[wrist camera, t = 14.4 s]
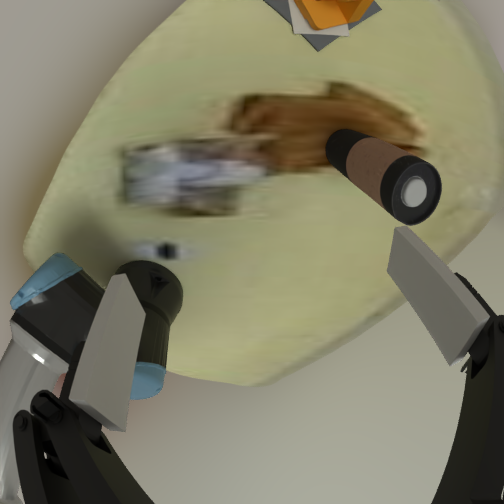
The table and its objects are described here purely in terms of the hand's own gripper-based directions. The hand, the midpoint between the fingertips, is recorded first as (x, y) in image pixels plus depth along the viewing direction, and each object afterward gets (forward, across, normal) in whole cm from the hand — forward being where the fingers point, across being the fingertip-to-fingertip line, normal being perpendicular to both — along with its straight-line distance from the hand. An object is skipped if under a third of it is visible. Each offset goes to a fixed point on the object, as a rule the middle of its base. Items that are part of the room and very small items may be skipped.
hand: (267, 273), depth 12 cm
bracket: (+31, -16, -23) cm, 42 cm away
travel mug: (+32, -18, +3) cm, 37 cm away
